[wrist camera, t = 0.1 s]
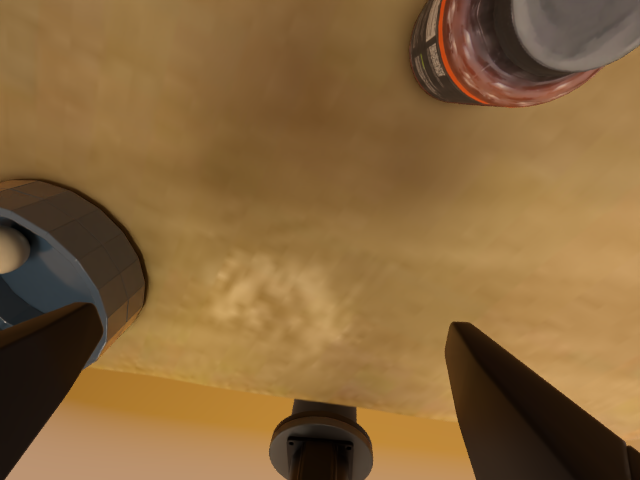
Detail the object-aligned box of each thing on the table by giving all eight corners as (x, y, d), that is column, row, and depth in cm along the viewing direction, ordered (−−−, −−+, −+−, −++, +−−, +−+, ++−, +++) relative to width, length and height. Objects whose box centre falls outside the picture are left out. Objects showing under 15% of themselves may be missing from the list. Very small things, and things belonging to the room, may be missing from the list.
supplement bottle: (544, 26, 17) (821, -70, 7) (463, 124, 20) (584, 158, 9) (459, -50, 16) (636, -286, 6) (384, 62, 19) (424, 25, 8)
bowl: (164, 337, 29) (129, 383, 24) (17, 329, 30) (-43, 371, 26) (123, 179, 23) (68, 201, 19) (-57, 176, 24) (-151, 196, 20)
